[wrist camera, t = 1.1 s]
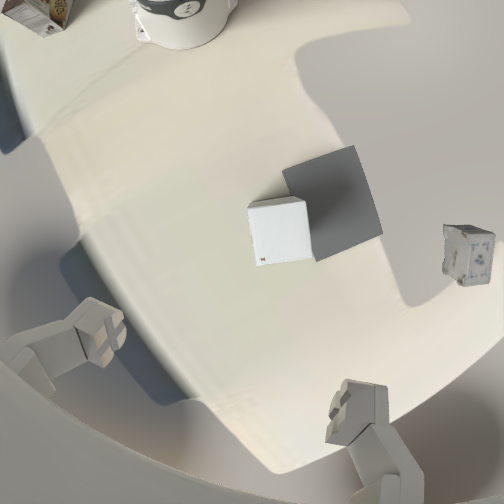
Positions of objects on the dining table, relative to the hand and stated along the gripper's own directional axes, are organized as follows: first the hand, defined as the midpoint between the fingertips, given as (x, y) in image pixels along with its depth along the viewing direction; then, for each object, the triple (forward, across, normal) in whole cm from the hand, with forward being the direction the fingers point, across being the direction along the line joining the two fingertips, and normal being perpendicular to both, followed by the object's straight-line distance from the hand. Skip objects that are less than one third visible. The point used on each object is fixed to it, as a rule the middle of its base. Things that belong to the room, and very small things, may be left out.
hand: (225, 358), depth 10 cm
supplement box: (+38, +4, +12) cm, 40 cm away
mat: (+42, -5, +8) cm, 43 cm away
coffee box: (+38, +55, -26) cm, 72 cm away
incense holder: (+47, -32, +12) cm, 58 cm away
